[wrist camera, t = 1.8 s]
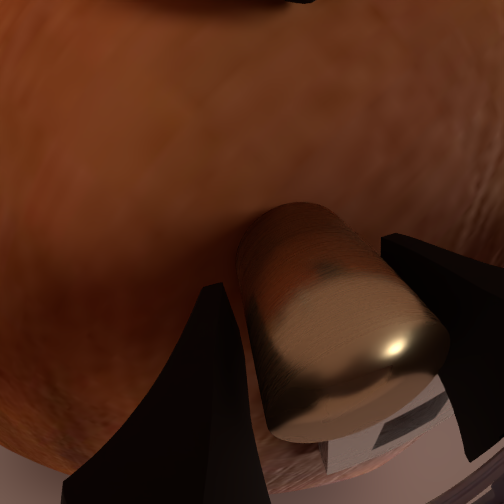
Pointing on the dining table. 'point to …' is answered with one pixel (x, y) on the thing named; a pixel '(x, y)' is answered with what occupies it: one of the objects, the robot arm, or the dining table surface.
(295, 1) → the hand tool
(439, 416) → the square stone frame
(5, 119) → the dining table surface
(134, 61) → the dining table surface
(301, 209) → the cylinder
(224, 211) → the dining table surface
